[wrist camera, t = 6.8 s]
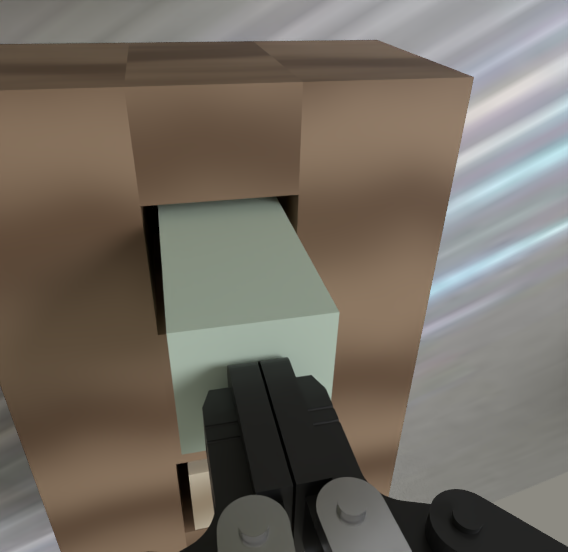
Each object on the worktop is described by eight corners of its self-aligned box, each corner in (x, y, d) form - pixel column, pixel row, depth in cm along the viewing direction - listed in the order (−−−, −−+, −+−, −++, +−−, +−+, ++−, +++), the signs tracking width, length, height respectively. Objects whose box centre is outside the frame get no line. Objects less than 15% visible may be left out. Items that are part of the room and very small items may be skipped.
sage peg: (156, 195, 18) (166, 333, 11) (270, 186, 19) (339, 312, 12) (168, 291, 20) (181, 454, 14) (270, 280, 21) (328, 429, 14)
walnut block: (-23, 44, 19) (-107, 93, 13) (377, 39, 23) (474, 77, 16) (90, 464, 32) (77, 597, 26) (336, 422, 35) (381, 531, 29)
